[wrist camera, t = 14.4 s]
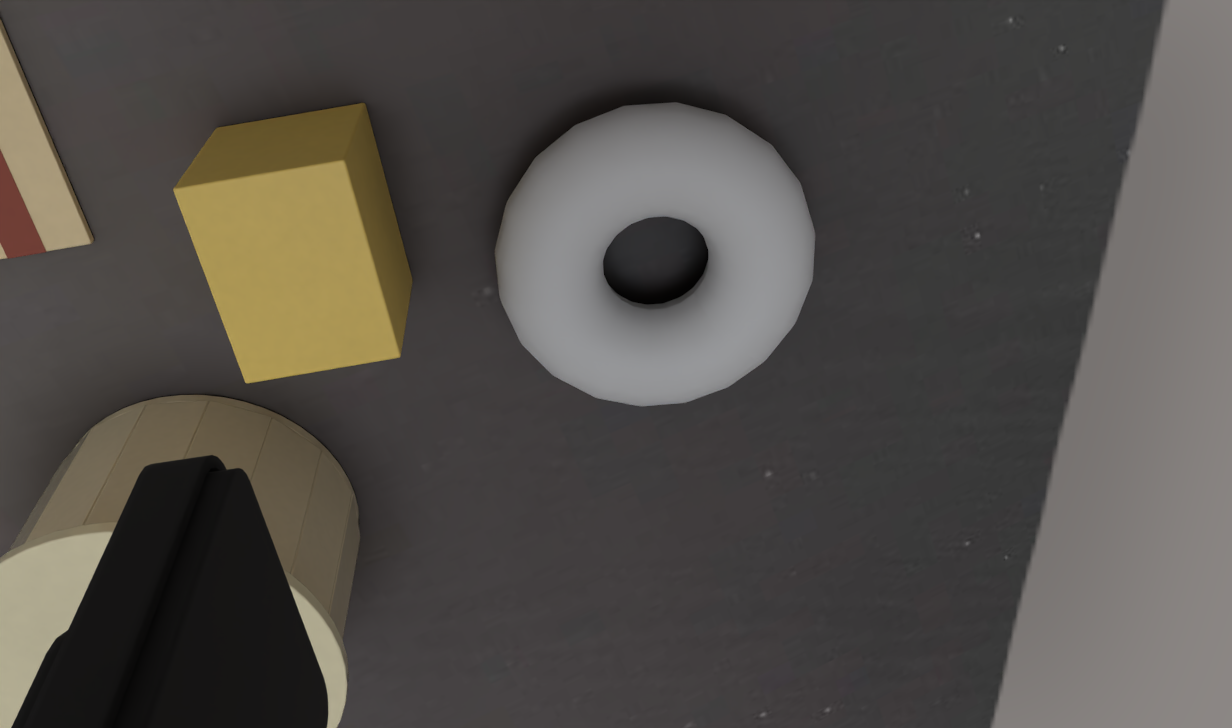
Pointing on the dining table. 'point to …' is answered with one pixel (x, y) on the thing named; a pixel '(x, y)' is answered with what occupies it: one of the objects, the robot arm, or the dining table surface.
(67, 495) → the pot
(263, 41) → the dining table surface
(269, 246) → the cheese
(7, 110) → the cloth
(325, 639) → the pot lid
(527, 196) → the donut
